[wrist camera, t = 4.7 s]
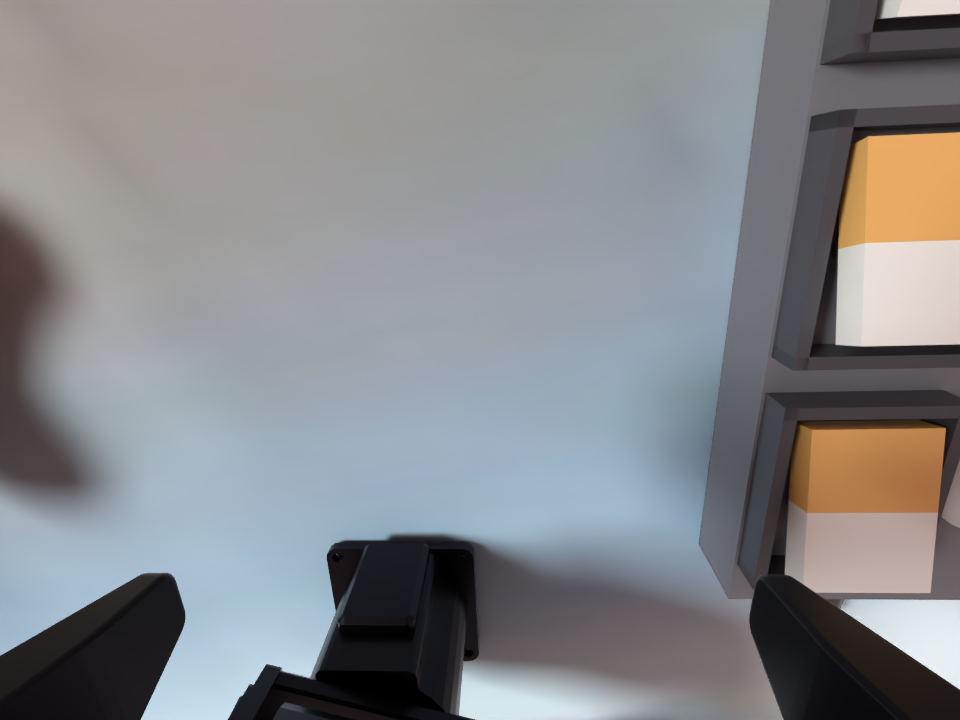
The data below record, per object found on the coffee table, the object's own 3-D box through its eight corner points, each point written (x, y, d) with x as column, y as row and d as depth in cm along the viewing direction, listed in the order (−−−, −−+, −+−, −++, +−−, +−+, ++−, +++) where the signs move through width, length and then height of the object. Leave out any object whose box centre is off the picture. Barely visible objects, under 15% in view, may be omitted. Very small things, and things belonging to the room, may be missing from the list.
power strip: (922, 599, 22) (1015, 690, 18) (691, 598, 22) (732, 686, 18) (1223, -314, 12) (1562, -549, 8) (807, -277, 13) (942, -483, 9)
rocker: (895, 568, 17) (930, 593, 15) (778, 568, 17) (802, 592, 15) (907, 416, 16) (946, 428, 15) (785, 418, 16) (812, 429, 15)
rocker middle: (967, 341, 14) (1018, 343, 12) (826, 344, 14) (862, 346, 13) (976, 149, 13) (1031, 129, 12) (831, 155, 14) (868, 136, 12)
